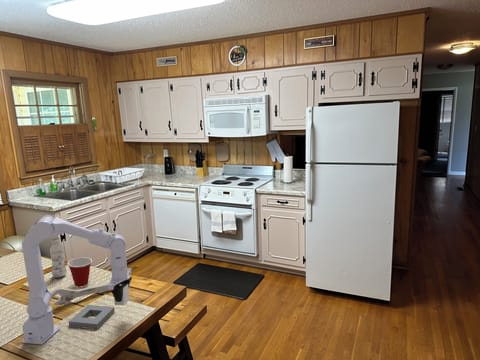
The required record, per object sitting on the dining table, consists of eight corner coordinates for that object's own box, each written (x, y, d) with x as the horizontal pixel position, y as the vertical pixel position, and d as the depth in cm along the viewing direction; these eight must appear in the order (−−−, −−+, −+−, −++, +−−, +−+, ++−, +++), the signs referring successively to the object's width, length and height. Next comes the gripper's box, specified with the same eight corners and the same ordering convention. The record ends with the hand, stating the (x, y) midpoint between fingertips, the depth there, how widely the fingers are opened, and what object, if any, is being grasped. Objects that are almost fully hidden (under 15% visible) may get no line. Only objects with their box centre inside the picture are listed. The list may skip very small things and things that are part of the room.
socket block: (97, 328, 123) (97, 324, 123) (69, 326, 125) (68, 321, 125) (114, 311, 135) (114, 307, 134) (88, 309, 137) (87, 304, 136)
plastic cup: (87, 289, 154) (85, 265, 152) (65, 289, 154) (62, 265, 152) (98, 279, 164) (96, 256, 162) (76, 279, 164) (74, 256, 163)
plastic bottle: (52, 275, 169) (48, 238, 166) (67, 272, 172) (63, 236, 169) (51, 280, 163) (47, 242, 160) (66, 277, 166) (62, 240, 163)
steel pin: (124, 305, 126) (122, 288, 125) (114, 304, 127) (113, 288, 126) (129, 300, 130) (128, 283, 129) (120, 299, 131) (118, 283, 130)
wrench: (121, 293, 156) (50, 309, 136) (120, 291, 157) (49, 307, 137) (122, 276, 155) (51, 291, 135) (120, 275, 157) (50, 289, 137)
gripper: (118, 274, 119) (121, 309, 121) (137, 258, 133) (139, 290, 135) (101, 273, 120) (103, 307, 122) (121, 258, 134) (123, 288, 136)
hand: (121, 298), depth 129 cm, fingers closed on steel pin, 4 cm apart
